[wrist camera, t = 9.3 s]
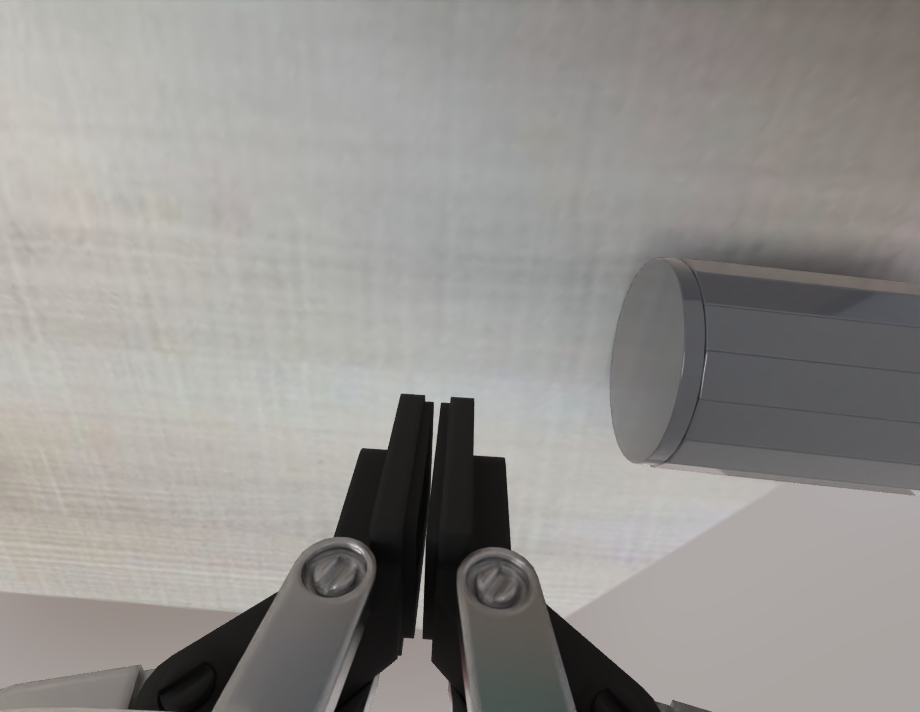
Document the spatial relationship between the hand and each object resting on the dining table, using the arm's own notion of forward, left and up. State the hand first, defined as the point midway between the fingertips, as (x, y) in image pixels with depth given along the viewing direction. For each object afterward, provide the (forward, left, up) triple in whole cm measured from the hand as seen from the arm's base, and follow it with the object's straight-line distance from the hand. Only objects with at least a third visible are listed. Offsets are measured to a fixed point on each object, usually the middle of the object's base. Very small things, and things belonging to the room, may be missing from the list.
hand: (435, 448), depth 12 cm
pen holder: (+6, -1, -7) cm, 9 cm away
